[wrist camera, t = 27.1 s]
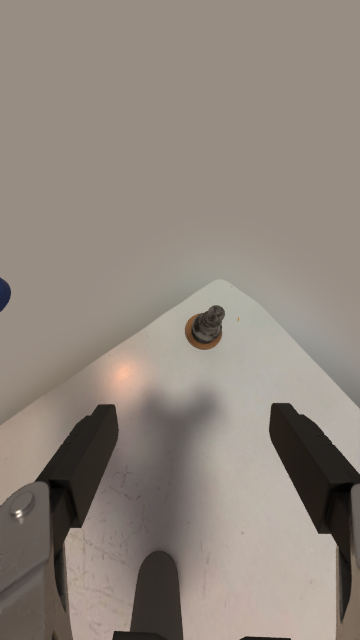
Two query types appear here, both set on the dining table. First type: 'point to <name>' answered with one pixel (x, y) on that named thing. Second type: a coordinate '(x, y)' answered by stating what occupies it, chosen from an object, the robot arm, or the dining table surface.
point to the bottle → (158, 598)
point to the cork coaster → (193, 341)
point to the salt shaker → (208, 325)
